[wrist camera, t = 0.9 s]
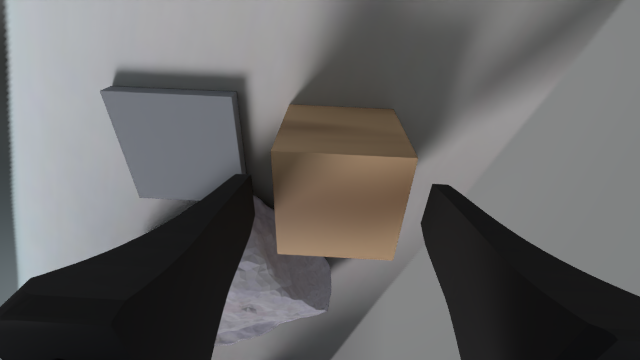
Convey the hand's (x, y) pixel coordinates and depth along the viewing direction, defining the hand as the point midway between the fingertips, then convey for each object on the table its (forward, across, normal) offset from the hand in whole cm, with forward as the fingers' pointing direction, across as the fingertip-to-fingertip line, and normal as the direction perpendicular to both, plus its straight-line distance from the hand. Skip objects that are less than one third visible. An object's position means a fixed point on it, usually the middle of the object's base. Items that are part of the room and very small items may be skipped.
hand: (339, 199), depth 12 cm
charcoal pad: (+4, +8, 0) cm, 9 cm away
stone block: (+4, +6, +9) cm, 12 cm away
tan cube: (+4, 0, 0) cm, 4 cm away
